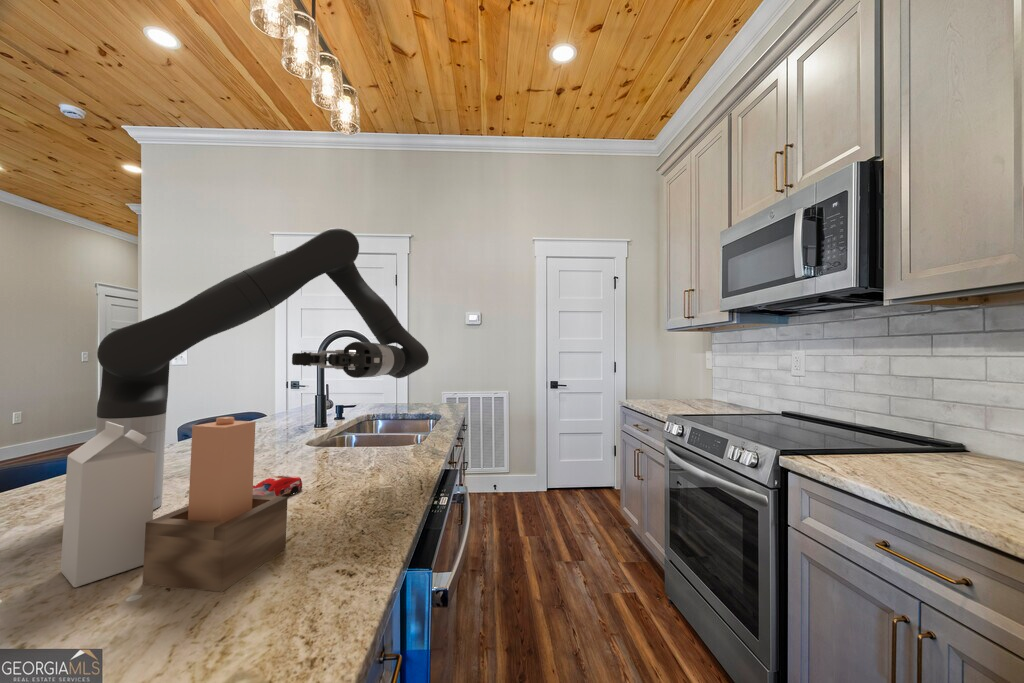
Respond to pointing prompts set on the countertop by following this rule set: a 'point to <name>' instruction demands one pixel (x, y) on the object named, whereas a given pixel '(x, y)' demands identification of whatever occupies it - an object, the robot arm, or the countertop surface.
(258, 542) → the wooden box
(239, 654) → the countertop surface
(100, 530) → the milk carton
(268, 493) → the race car
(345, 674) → the countertop surface
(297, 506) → the countertop surface
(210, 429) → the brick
